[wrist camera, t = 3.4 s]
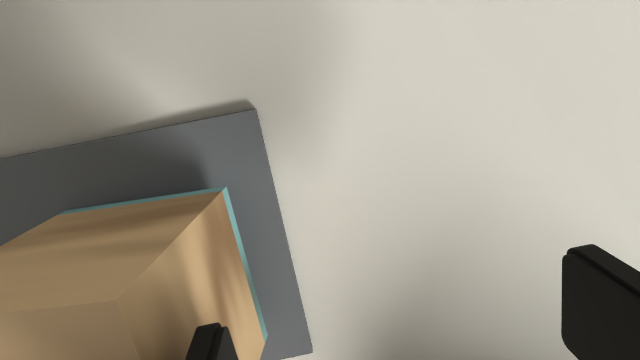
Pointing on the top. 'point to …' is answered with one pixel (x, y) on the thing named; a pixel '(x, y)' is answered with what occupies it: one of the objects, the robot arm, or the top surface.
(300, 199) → the top surface
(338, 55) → the top surface
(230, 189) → the rubber mat
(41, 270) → the oak block
